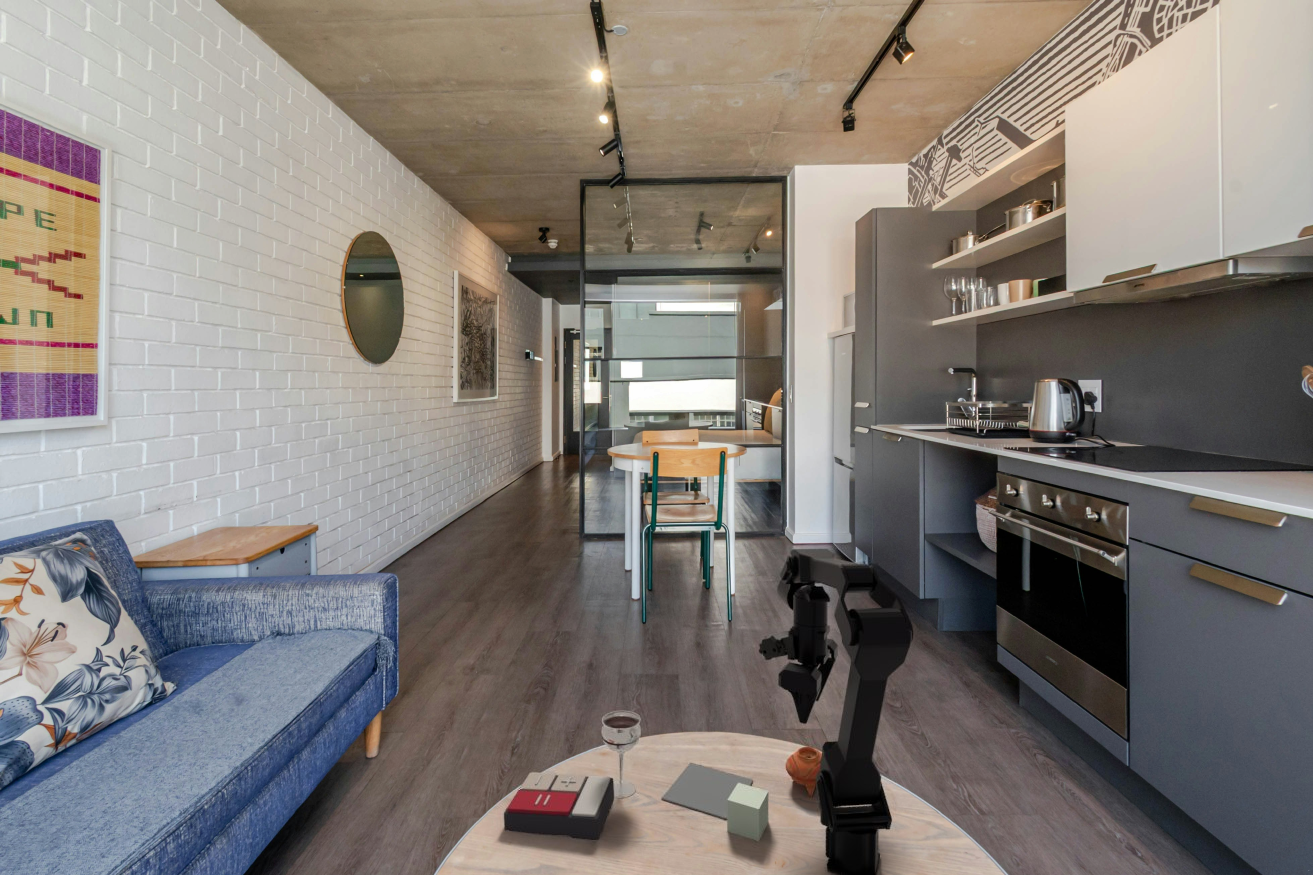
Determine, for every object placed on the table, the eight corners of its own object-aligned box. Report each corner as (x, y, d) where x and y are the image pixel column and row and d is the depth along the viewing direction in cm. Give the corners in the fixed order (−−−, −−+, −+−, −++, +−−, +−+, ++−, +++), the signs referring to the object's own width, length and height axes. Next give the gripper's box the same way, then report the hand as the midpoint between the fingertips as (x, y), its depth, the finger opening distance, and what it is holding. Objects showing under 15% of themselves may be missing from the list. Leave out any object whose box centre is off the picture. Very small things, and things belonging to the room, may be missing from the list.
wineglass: (639, 801, 101) (640, 729, 101) (599, 800, 101) (599, 729, 101) (641, 777, 108) (642, 710, 108) (603, 777, 108) (603, 709, 108)
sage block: (768, 822, 96) (768, 790, 96) (758, 841, 92) (758, 808, 92) (738, 813, 99) (738, 782, 98) (727, 831, 94) (727, 799, 94)
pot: (841, 799, 101) (832, 760, 101) (794, 807, 102) (785, 769, 102) (832, 770, 109) (823, 734, 109) (788, 778, 110) (780, 742, 110)
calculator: (528, 768, 105) (613, 772, 103) (529, 793, 105) (615, 797, 103) (502, 808, 94) (597, 814, 92) (503, 836, 94) (598, 842, 92)
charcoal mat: (753, 780, 107) (753, 779, 107) (729, 820, 96) (729, 819, 96) (690, 763, 113) (690, 762, 113) (661, 799, 102) (661, 797, 102)
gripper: (779, 601, 117) (778, 681, 117) (748, 630, 100) (747, 724, 101) (838, 609, 112) (837, 693, 112) (816, 641, 95) (815, 740, 96)
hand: (809, 711), depth 105 cm, fingers open, 9 cm apart
